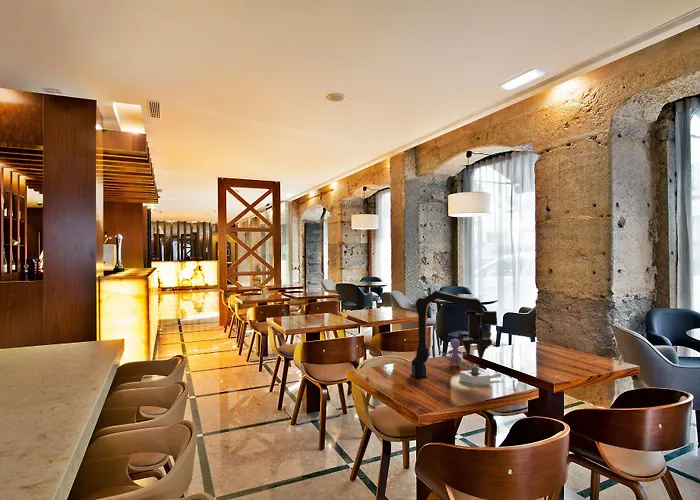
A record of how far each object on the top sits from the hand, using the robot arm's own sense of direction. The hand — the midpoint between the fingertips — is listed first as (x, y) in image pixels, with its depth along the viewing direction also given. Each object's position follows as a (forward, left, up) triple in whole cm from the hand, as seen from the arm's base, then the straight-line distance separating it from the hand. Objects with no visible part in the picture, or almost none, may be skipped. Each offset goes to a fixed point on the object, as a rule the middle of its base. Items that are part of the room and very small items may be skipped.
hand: (474, 356), depth 192 cm
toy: (+9, +29, -13) cm, 33 cm away
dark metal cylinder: (0, 0, -12) cm, 12 cm away
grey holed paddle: (+5, 0, -12) cm, 13 cm away
